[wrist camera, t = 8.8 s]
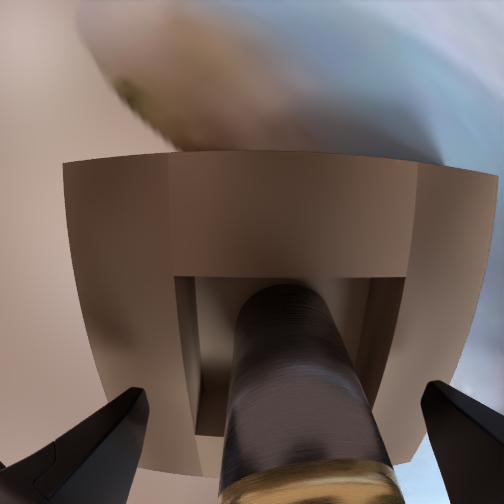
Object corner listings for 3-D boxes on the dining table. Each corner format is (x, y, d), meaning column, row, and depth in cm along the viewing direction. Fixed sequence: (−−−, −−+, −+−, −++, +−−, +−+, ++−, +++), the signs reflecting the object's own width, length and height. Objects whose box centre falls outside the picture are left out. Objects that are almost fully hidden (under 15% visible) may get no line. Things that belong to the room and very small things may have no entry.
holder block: (446, 168, 11) (498, 176, 8) (391, 418, 15) (410, 461, 12) (110, 159, 11) (62, 163, 8) (151, 421, 15) (134, 466, 12)
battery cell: (336, 283, 12) (438, 479, 4) (325, 364, 13) (374, 547, 5) (234, 283, 12) (203, 506, 4) (236, 365, 13) (221, 560, 5)
